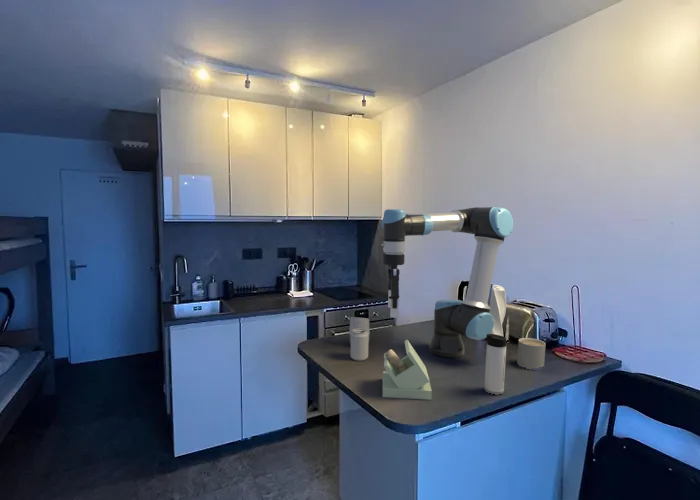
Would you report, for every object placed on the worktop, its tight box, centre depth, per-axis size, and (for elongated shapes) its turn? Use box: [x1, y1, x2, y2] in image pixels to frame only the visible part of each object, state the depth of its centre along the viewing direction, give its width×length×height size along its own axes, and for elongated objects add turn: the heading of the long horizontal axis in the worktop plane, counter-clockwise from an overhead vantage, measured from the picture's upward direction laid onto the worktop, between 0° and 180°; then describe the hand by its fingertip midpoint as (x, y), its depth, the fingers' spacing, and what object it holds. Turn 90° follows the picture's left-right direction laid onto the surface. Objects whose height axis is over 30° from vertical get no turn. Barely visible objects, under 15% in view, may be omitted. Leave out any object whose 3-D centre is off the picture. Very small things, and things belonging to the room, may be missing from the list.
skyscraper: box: [489, 284, 510, 341], centre depth 191 cm, size 8×8×28 cm
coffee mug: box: [516, 337, 546, 368], centre depth 161 cm, size 13×10×10 cm
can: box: [349, 329, 370, 362], centre depth 165 cm, size 8×8×12 cm
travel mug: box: [484, 334, 507, 396], centre depth 136 cm, size 6×7×20 cm
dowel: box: [384, 349, 409, 372], centre depth 137 cm, size 3×3×12 cm
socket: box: [382, 339, 433, 401], centre depth 136 cm, size 16×14×16 cm
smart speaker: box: [348, 316, 371, 345], centre depth 181 cm, size 10×9×14 cm
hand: (392, 312), depth 142 cm, fingers open, 13 cm apart
